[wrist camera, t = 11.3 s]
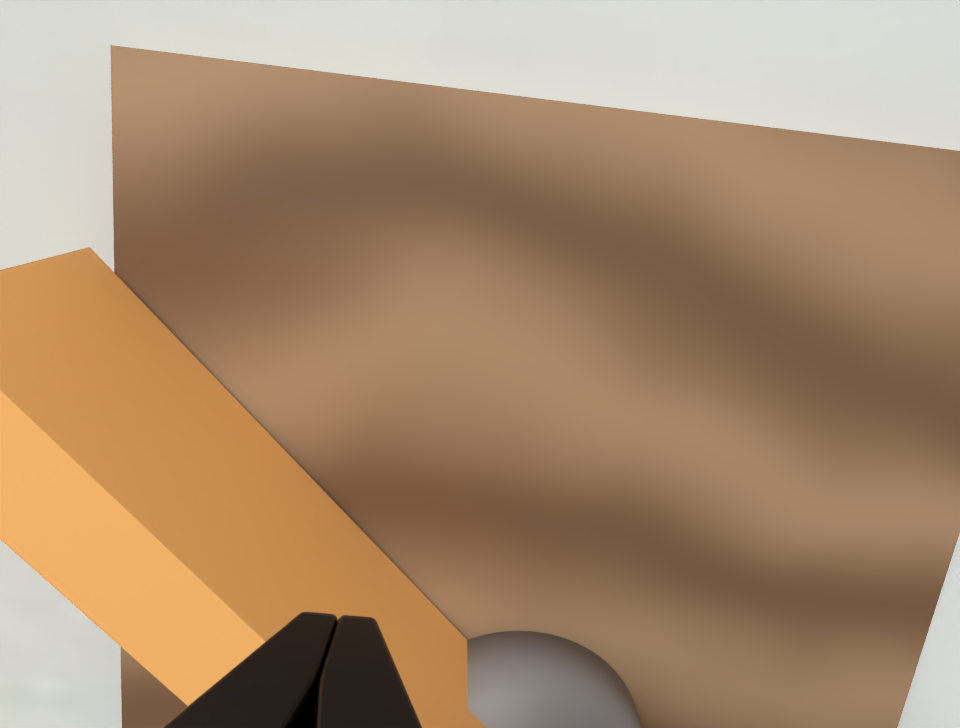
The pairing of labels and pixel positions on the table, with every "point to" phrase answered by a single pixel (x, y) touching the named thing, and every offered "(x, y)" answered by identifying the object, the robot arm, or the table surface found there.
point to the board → (578, 365)
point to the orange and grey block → (220, 519)
